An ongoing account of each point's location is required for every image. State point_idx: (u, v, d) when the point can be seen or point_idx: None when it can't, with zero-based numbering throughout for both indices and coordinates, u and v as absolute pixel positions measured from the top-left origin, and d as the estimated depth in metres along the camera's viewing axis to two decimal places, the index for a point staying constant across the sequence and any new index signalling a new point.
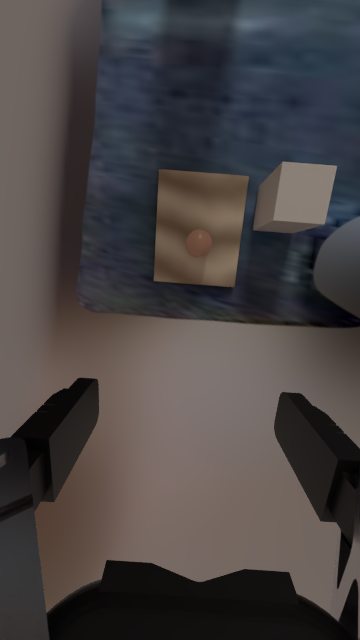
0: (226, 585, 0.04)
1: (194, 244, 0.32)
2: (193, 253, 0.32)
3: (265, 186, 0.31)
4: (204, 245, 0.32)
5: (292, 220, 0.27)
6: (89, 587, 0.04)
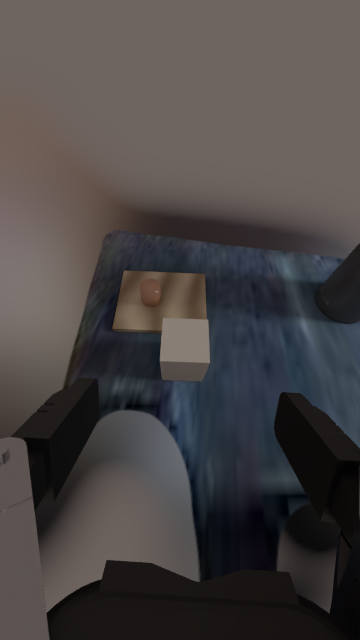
0: (226, 585, 0.04)
1: (148, 284, 0.39)
2: (141, 283, 0.39)
3: None
4: (148, 290, 0.39)
5: (162, 332, 0.30)
6: (89, 587, 0.04)
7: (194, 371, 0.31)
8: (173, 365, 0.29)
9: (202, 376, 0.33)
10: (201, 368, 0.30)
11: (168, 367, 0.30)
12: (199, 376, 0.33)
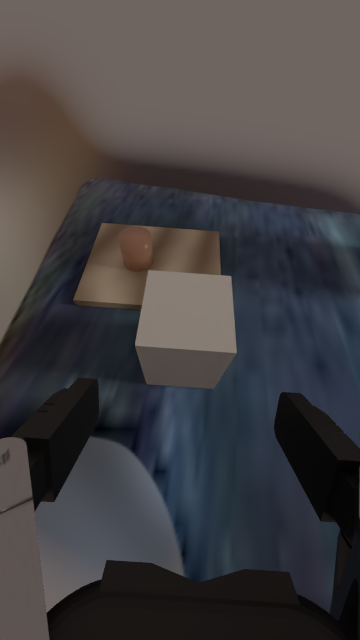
0: (226, 584, 0.04)
1: (133, 233, 0.25)
2: (122, 231, 0.25)
3: None
4: (131, 241, 0.24)
5: (145, 294, 0.16)
6: (89, 587, 0.04)
7: (203, 370, 0.17)
8: (163, 356, 0.15)
9: (216, 380, 0.19)
10: (217, 364, 0.16)
11: (154, 360, 0.16)
12: (210, 380, 0.19)
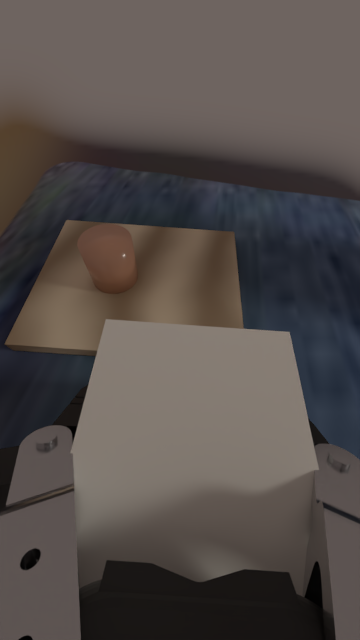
0: (226, 585, 0.04)
1: (103, 235, 0.16)
2: (86, 233, 0.16)
3: None
4: (98, 249, 0.15)
5: (92, 387, 0.07)
6: (89, 587, 0.04)
7: None
8: None
9: None
10: None
11: None
12: None
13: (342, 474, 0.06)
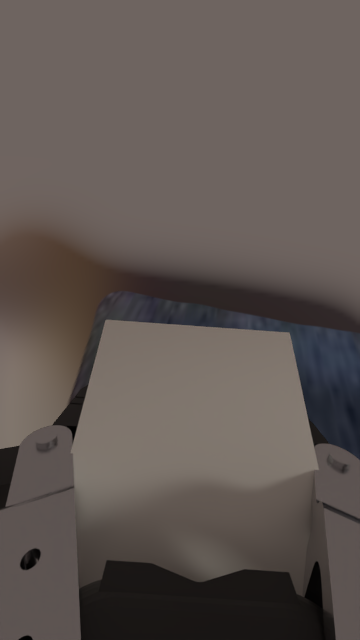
0: (226, 586, 0.04)
1: None
2: None
3: None
4: None
5: (92, 388, 0.06)
6: (89, 587, 0.04)
7: None
8: None
9: None
10: None
11: None
12: None
13: (342, 474, 0.06)
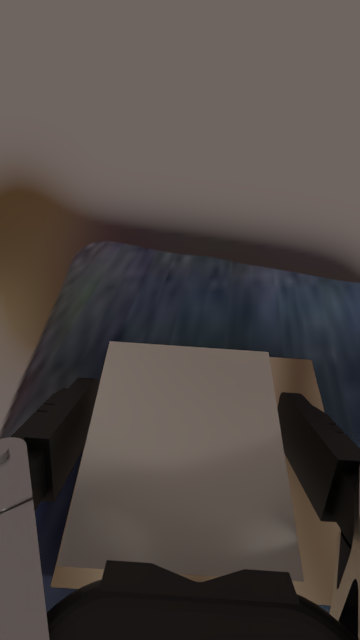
0: (226, 586, 0.04)
1: None
2: None
3: None
4: None
5: (99, 402, 0.08)
6: (89, 587, 0.04)
7: None
8: None
9: None
10: None
11: None
12: None
13: None
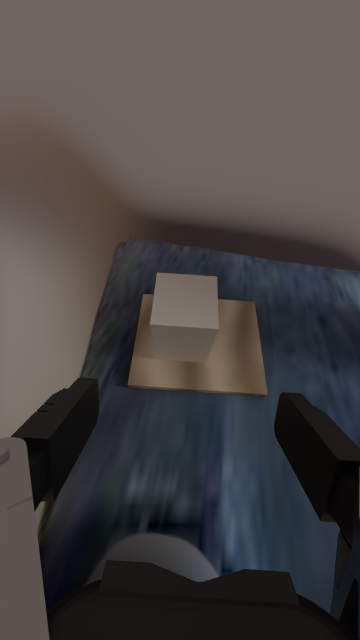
0: (226, 586, 0.04)
1: None
2: None
3: None
4: None
5: (156, 290, 0.23)
6: (89, 587, 0.04)
7: (197, 344, 0.24)
8: (169, 333, 0.22)
9: (207, 353, 0.26)
10: (206, 339, 0.22)
11: (162, 336, 0.23)
12: (203, 353, 0.26)
13: None
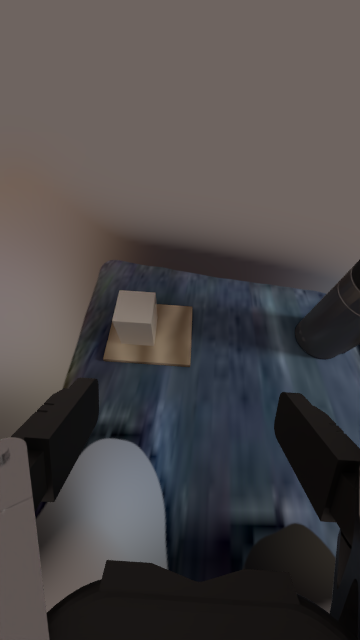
0: (226, 585, 0.04)
1: None
2: None
3: None
4: None
5: (117, 301, 0.38)
6: (89, 587, 0.04)
7: (143, 333, 0.39)
8: (124, 326, 0.38)
9: (151, 339, 0.41)
10: (147, 330, 0.38)
11: (121, 328, 0.38)
12: (149, 339, 0.41)
13: None
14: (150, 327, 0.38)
